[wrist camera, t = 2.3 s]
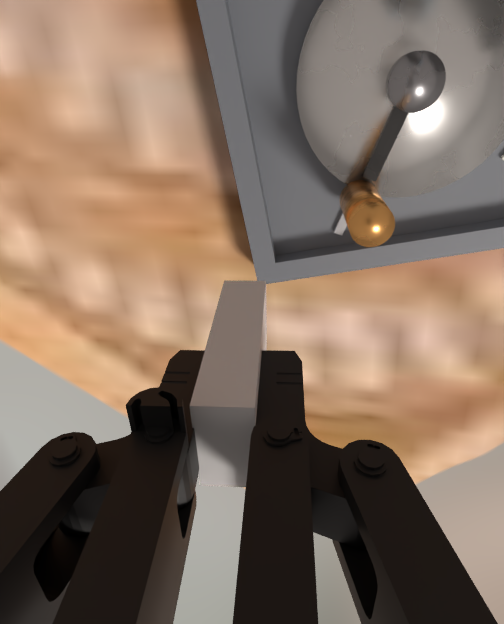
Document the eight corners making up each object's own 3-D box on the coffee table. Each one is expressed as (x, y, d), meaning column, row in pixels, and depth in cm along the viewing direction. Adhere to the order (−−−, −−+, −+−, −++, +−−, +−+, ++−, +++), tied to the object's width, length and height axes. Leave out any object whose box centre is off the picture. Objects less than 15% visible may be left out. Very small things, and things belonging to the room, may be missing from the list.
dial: (279, -27, 23) (276, -54, 18) (543, -98, 21) (633, -152, 16) (312, 219, 30) (318, 255, 24) (515, 184, 28) (572, 215, 22)
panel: (180, -106, 23) (169, -124, 21) (650, -251, 19) (698, -291, 17) (260, 269, 33) (258, 285, 31) (572, 220, 30) (595, 234, 28)
